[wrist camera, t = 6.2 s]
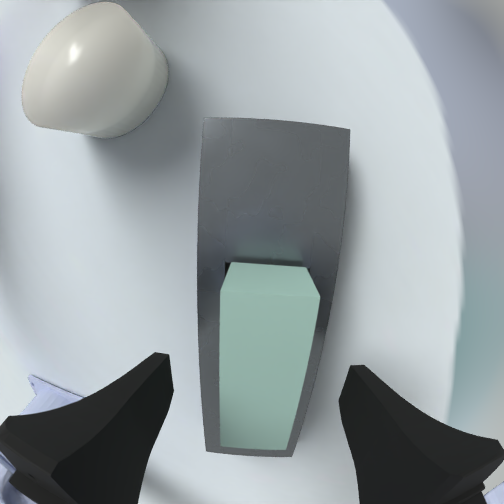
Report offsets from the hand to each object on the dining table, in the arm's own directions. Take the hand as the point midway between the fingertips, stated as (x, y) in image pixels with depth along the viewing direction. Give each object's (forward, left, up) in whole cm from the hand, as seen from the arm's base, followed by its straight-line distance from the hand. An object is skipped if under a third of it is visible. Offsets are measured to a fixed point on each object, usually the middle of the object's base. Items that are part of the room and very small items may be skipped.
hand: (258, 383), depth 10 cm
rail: (0, 0, -5) cm, 5 cm away
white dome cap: (+13, +9, -5) cm, 17 cm away
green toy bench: (0, 0, -5) cm, 5 cm away
